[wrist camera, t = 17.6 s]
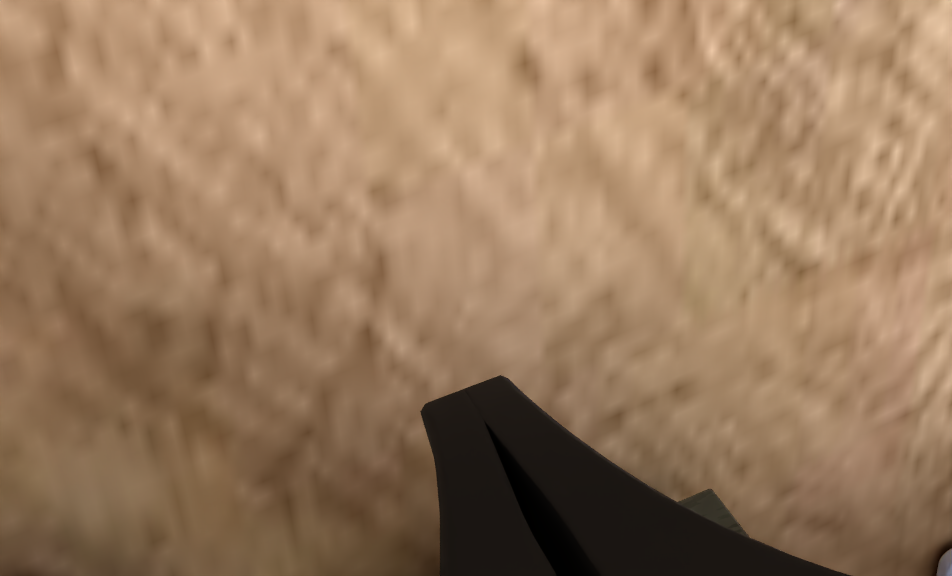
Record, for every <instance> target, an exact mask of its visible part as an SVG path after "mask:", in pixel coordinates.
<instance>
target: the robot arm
mask: <svg viewBox="0 0 952 576" xmlns="http://www.w3.org/2000/svg"><path fill="white" fill-rule="evenodd" d="M420 412H421V416H422V419H423V422H424V426H425V429H426V432H427V436H428V439H429V442H430V446H431V449H432V452H433V456H434V461H435V468H436V475H437V487H438V498H439V511H440V576H851V575H847V574H844V573H841V572H837V571H834V570H831V569H828V568H826V567H823V566H820V565H817V564H815V563H812V562H809V561H806V560H803V559H801V558H798V557H795V556H792V555H790V554H788V553H785V552H783V551H780V550H778V549H776V548H773V547H771V546H769V545H766V544H764V543H761V542H759V541H757V540H754V539H752V538H750V537H747V536H745V535H743V534H740V533H738V532H735V531H733V530H731V529H729V528H727V527H725V526H723V525H721V524H719V523H716V522H714V521H712V520H710V519H708V518H706V517H704V516H702V515H700V514H698V513H696V512H694V511H693V510H691V509H689V508H687V507H685V506H683V505H681V504H680V503H678V502H676V501H674V500H672V499H670V498H669V497H667V496H665V495H663V494H662V493H660V492H658V491H657V490H655V489H653V488H652V487H650V486H648V485H647V484H645V483H643V482H642V481H640V480H639V479H637V478H635V477H634V476H632V475H631V474H629V473H628V472H626V471H625V470H623V469H621V468H620V467H618V466H617V465H615V464H614V463H612V462H611V461H609V460H608V459H607V458H605V457H604V456H602V455H601V454H599V453H598V452H597V451H595V450H594V449H593V448H591V447H590V446H588V445H587V444H586V443H584V442H583V441H582V440H580V439H579V438H577V437H576V436H575V435H573V434H572V433H571V432H569V431H568V430H567V429H566V428H564V427H563V426H562V425H560V424H559V423H558V422H557V421H556V420H554V419H553V418H552V417H551V416H549V415H548V414H547V413H546V412H545V411H543V410H542V409H541V408H540V407H539V406H537V405H536V404H535V403H534V402H533V401H532V400H531V399H529V398H528V397H527V396H526V395H525V394H524V393H523V392H522V391H521V390H520V389H518V388H517V387H516V386H515V385H514V384H513V383H512V382H511V381H510V380H509V379H508V378H506V377H504V376H501V375H500V376H497V377H494V378H492V379H489V380H486V381H484V382H481V383H479V384H476V385H473V386H471V387H468V388H465V389H463V390H460V391H457V392H455V393H452V394H449V395H447V396H444V397H442V398H439V399H436V400H434V401H431V402H428V403H426V404H425V405H424V407H423V408H422V410H421V411H420ZM936 576H952V548H951V549H950V550H948V551H947V552H946V553H945V554H943V556H942V557H941V558H940V561H939V565H938V570H937V575H936Z"/></svg>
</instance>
